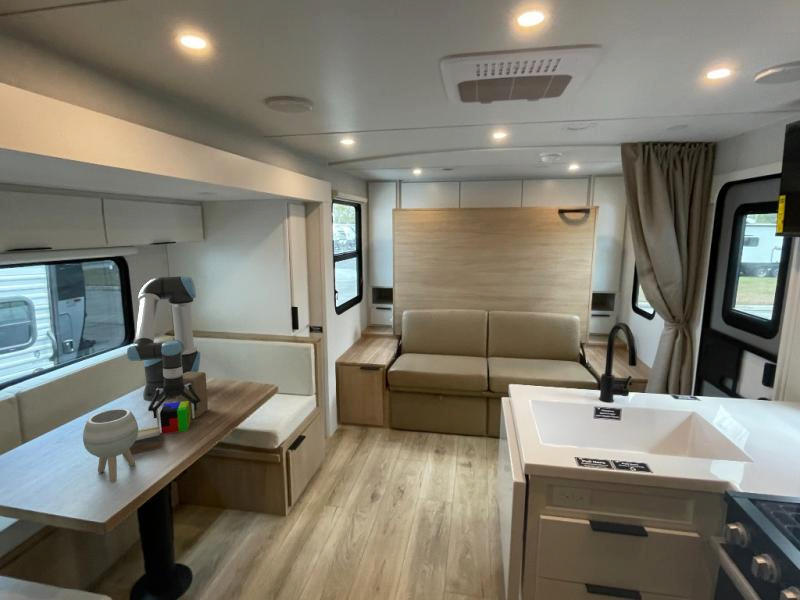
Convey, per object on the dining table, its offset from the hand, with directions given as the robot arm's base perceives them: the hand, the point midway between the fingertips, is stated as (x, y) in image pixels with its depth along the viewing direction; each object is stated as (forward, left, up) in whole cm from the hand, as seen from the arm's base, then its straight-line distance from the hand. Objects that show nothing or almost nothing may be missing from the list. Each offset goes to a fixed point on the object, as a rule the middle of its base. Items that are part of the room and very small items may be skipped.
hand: (176, 421), depth 180 cm
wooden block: (-11, +8, -3) cm, 14 cm away
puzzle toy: (0, 0, -3) cm, 3 cm away
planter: (+28, -21, -3) cm, 35 cm away
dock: (+9, -13, -3) cm, 16 cm away
